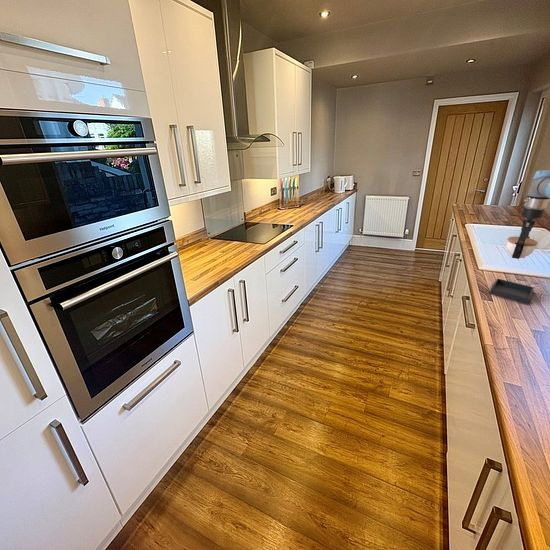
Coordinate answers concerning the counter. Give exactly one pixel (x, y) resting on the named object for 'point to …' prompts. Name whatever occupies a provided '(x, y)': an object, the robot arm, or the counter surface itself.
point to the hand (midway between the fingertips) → (517, 254)
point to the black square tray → (512, 291)
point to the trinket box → (527, 248)
